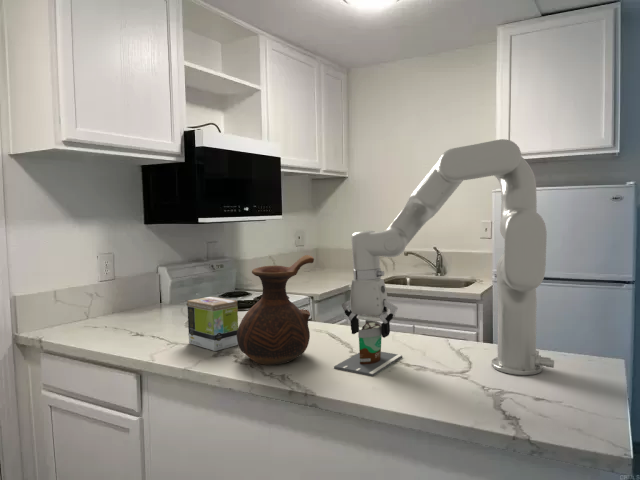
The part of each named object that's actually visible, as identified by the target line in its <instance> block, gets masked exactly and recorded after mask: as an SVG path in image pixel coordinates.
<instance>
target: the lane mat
mask: <svg viewBox="0 0 640 480" xmlns="http://www.w3.org/2000/svg"><path fill="white" fill-rule="evenodd" d="M402 358H403V354H398V353H393V352H392V353H391V352H386V351H385V352H384V351H381V357H380V361H379V362H377V363H373V364H360V352H358V353H356V354H354V355H353V356H351V357H349V358H346V359H344V360H343V361H341V362H339V363H338V364H336V365H334V366H333V369H335V370H340V371H344V372H350V373H354V374H355V373H356V374H358V375H359V374H360V375H365V376H369V377H374V376H376V375H378V373H380V372H382V371H383V370H385V369H386V368H388V367H389V366H391V365H393V364H394V363H396V362H397V361H398V360H400V359H402Z"/></svg>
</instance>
